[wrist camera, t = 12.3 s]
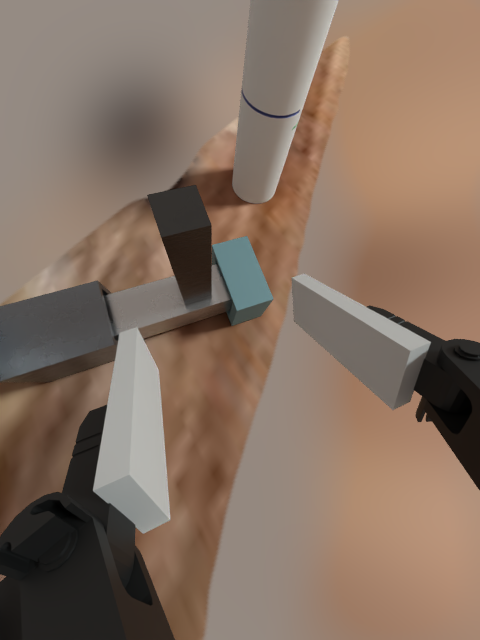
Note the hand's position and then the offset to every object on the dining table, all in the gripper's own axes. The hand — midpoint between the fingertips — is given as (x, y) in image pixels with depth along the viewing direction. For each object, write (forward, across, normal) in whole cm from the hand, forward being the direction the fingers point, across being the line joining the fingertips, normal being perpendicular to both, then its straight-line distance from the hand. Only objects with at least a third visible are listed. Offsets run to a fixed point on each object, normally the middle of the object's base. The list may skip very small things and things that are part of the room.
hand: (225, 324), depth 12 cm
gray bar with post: (+18, -3, -7) cm, 20 cm away
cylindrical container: (+31, +15, +4) cm, 34 cm away
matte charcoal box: (+19, -14, -8) cm, 25 cm away
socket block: (+19, +6, -8) cm, 21 cm away
